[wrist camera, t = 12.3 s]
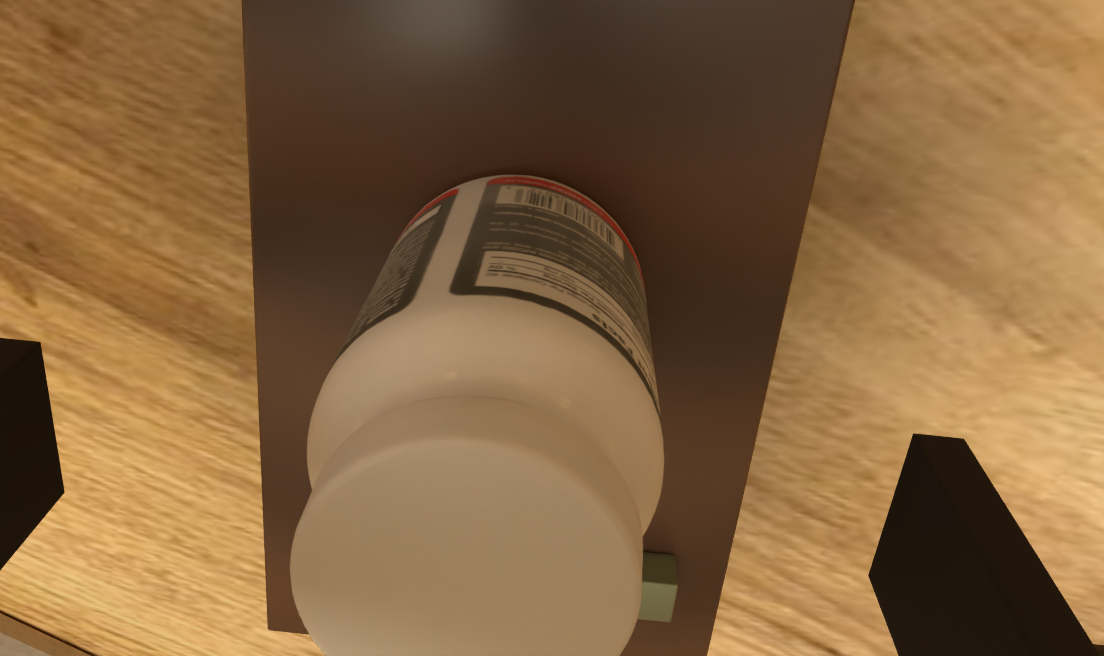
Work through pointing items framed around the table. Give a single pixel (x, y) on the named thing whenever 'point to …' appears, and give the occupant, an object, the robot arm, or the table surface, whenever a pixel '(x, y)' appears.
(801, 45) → the walnut shelf
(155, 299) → the table surface
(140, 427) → the table surface
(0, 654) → the barrier
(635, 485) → the pill bottle
